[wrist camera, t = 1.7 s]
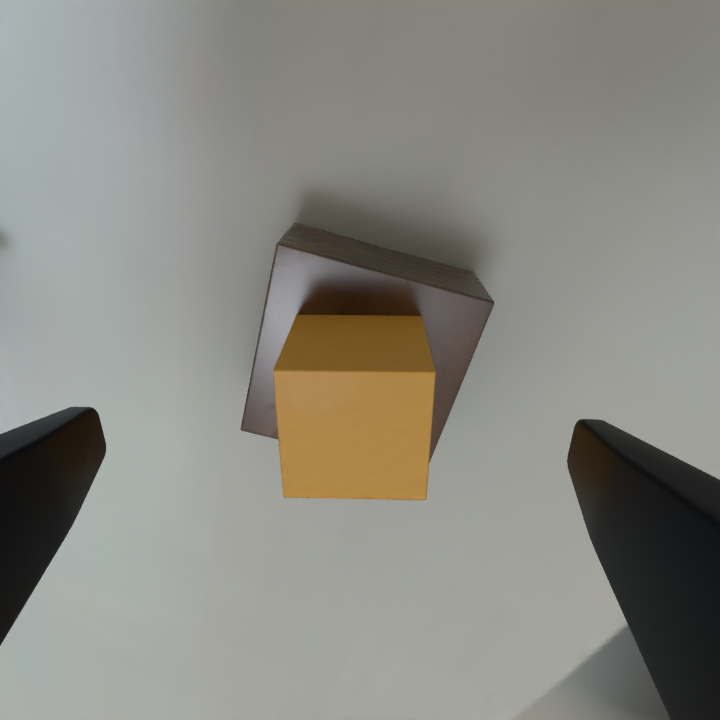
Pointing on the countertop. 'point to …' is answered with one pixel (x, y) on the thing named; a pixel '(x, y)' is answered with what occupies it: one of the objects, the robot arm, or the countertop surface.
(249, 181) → the countertop surface
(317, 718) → the countertop surface
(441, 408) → the walnut block
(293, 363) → the ochre cube
